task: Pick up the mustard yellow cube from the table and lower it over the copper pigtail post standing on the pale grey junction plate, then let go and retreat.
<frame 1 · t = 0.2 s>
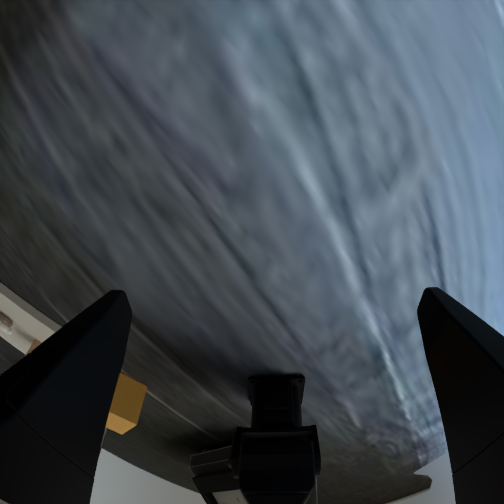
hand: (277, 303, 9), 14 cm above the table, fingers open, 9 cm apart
junction plate: (44, 339, 34), on the table
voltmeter: (252, 452, 50), on the table
mustard yellow cube: (120, 383, 38), on the table
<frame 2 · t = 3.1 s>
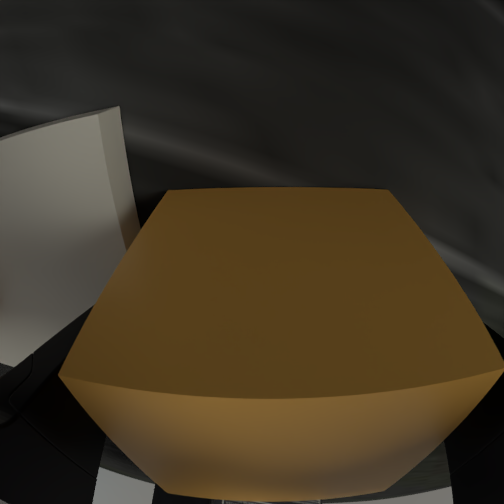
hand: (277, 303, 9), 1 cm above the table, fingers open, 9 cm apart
mustard yellow cube: (278, 279, 10), on the table
small box: (245, 456, 19), on the table
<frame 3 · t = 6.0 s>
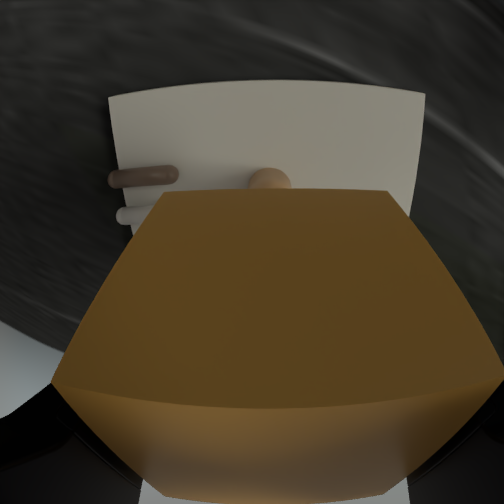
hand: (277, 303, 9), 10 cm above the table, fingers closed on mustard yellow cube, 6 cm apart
junction plate: (269, 179, 17), on the table
mustard yellow cube: (276, 281, 10), point 9 cm above the table, touching gripper
when the fingers open (3 cm above the table, at t = 8.2 s): mustard yellow cube drops 1 cm, resting on junction plate.
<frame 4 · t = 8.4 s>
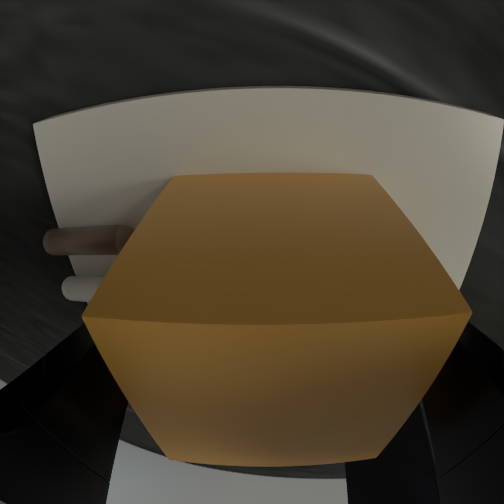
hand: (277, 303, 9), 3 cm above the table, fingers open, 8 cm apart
junction plate: (273, 239, 12), on the table
mustard yellow cube: (273, 257, 11), point 1 cm above the table, touching junction plate
small box: (399, 417, 20), on the table
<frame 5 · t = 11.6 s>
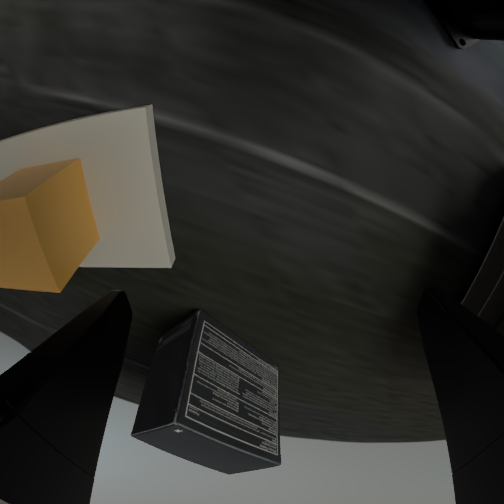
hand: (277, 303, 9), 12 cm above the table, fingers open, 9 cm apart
junction plate: (65, 196, 20), on the table
mustard yellow cube: (56, 203, 19), point 1 cm above the table, touching junction plate
small box: (219, 351, 29), on the table
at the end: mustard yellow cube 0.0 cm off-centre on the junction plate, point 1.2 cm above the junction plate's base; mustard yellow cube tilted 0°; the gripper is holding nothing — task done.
